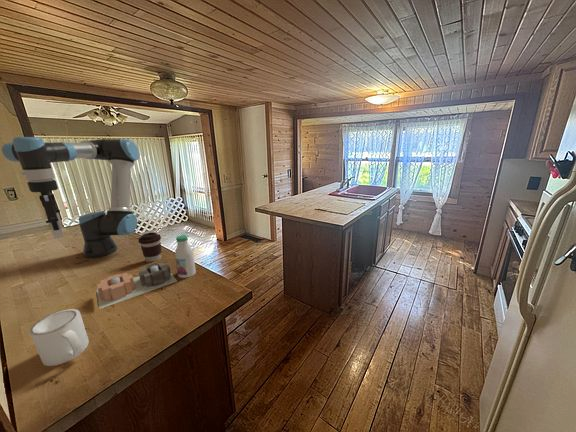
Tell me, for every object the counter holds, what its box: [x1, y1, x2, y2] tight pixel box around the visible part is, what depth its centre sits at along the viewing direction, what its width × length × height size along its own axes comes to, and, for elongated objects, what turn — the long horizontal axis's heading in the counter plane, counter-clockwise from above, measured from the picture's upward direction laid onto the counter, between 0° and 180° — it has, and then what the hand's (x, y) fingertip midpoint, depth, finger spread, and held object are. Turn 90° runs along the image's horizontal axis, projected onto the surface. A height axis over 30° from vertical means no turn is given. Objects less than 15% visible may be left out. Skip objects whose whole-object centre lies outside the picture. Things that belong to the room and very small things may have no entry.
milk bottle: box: [174, 234, 197, 279], centre depth 104 cm, size 8×8×20 cm
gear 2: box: [138, 261, 172, 287], centre depth 101 cm, size 11×11×5 cm
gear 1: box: [96, 272, 135, 302], centre depth 92 cm, size 11×11×5 cm
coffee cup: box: [137, 231, 162, 263], centre depth 119 cm, size 10×10×15 cm
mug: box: [29, 308, 90, 367], centre depth 66 cm, size 14×10×11 cm
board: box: [96, 266, 178, 310], centre depth 97 cm, size 16×27×8 cm, turn 132°
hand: (59, 232), depth 92 cm, fingers open, 13 cm apart
